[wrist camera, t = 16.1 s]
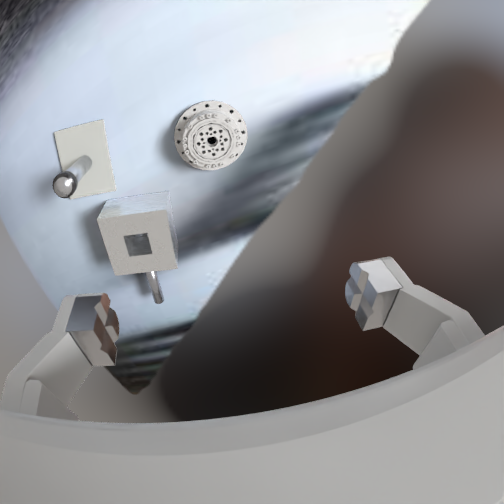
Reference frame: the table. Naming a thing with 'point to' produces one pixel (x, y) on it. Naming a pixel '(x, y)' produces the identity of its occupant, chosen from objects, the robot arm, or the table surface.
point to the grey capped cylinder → (71, 177)
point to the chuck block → (140, 236)
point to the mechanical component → (210, 135)
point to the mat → (93, 145)
